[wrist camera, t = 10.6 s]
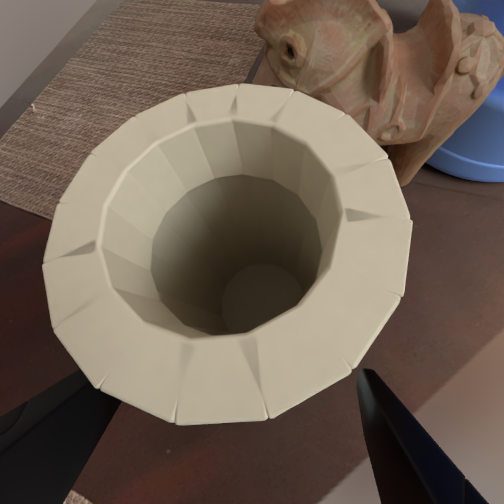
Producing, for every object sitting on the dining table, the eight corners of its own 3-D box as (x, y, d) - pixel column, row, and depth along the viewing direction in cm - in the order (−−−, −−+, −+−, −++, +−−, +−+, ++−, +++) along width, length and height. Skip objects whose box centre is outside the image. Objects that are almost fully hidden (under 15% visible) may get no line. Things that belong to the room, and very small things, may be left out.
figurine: (255, 152, 26) (226, -56, 12) (421, 137, 25) (608, -126, 11) (255, 210, 24) (221, 29, 10) (441, 198, 22) (720, -43, 8)
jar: (318, 351, 16) (483, 410, 3) (218, 359, 17) (-4, 437, 4) (303, 255, 19) (356, 61, 6) (216, 265, 19) (78, 109, 6)
